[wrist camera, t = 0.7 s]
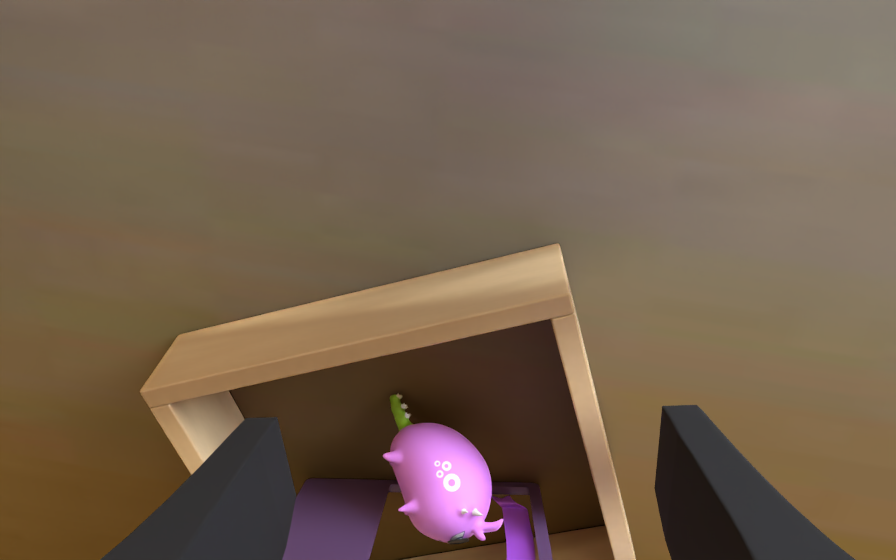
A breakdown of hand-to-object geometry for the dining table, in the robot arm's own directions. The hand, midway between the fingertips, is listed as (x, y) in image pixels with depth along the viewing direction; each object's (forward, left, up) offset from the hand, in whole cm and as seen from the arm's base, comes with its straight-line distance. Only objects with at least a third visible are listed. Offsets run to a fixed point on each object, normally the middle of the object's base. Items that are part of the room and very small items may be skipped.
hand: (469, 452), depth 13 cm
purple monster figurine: (-8, +4, -10) cm, 13 cm away
